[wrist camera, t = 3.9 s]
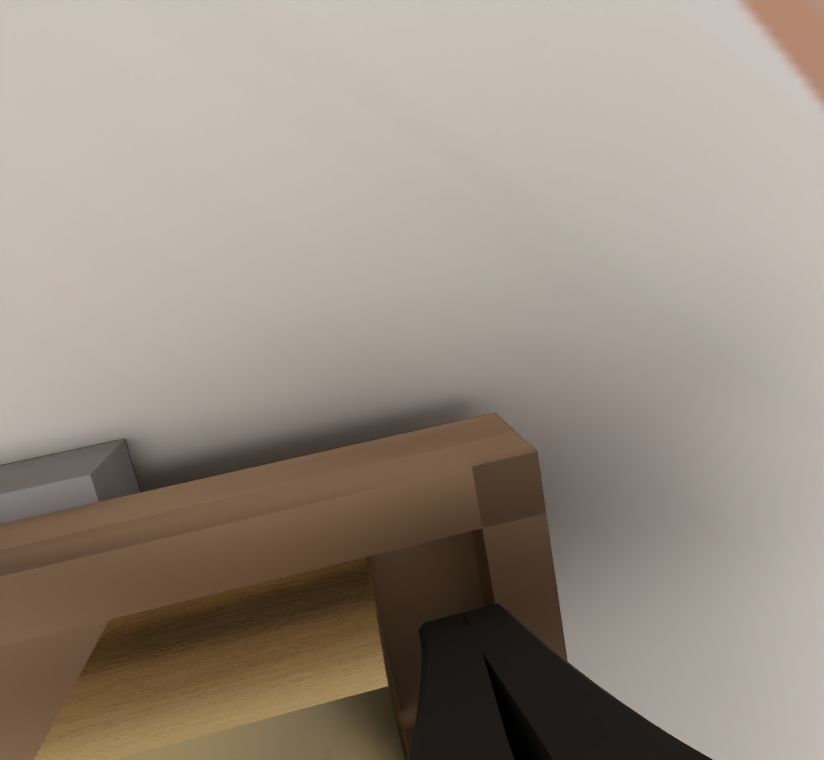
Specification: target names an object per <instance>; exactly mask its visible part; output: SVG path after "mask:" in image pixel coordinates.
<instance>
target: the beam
mask: <svg viewBox="0 0 824 760" xmlns="http://www.w3.org/2000/svg"><path fill="white" fill-rule="evenodd" d="M364 557H367V562H368V566H369V571H370V575H371V580H372V584H373V589H374V593H375V598H376V602H377V607H378V611H379V616H380V620H381V625H382V629H383V634H384V638H385V643H386V647H387V652H388V656H389V661H390V665H391V670H392V674H393V679H394V683H395V688H396V692H397V697H398V701H399V706H400V710H401V715H402V720H403V725H404V730H405V736H406V741H407V746H408V752H409V754H410V750H411V745H412V740H413V735H414V729H415V722H416V714H417V706H418V699H419V691H420V679H421V642H420V637H419V632H418V631H419V629H420V628H421V626H422V625H423V624H424V622H427V621H431V620H435V619H439V618H443V617H447V616H451V615H455V614H459V613H463V612H467V611H471V610H474V609H478V608H482V607H486V606H490V605H494V604H500V605H501V606H503V607H504V608H506V609H507V610H508V611H509V612H510V613H511V614H512V615H513V616H514V617H516V618H517V619H518V620H519V621H520V622H521V623H522V624H523V625H524V626H525V627H527V628H528V629H529V630H530V631H531V632H532V633H533V634H535V635H536V636H537V637H538V638H539V639H540V640H542V641H543V642H544V643H545V644H546V645H547V646H549V647H550V648H551V649H552V650H553V651H555V652H556V653H557V654H558V655H559V656H561V657H562V658H563V659H564V660H566V661H567V655H566V648H565V641H564V634H563V627H562V620H561V613H560V606H559V600H558V593H557V586H556V579H555V572H554V565H553V558H552V551H551V544H550V537H549V530H548V524H547V517H546V510H545V503H544V496H543V489H542V482H541V475H540V468H539V461H538V454H537V451H536V450H535V449H534V448H533V447H532V446H531V445H530V444H529V443H527V442H526V441H525V440H524V439H523V438H522V437H521V436H520V435H519V434H518V433H517V432H516V431H515V430H514V429H513V428H511V427H510V426H509V425H508V424H507V423H506V422H505V421H504V420H503V419H502V418H501V417H500V416H499V415H498V414H496V413H492V414H488V415H483V416H479V417H474V418H470V419H466V420H461V421H457V422H452V423H448V424H443V425H439V426H434V427H430V428H426V429H421V430H417V431H412V432H408V433H403V434H399V435H394V436H390V437H385V438H381V439H377V440H372V441H368V442H363V443H359V444H354V445H350V446H345V447H341V448H336V449H332V450H328V451H323V452H319V453H314V454H310V455H305V456H301V457H296V458H292V459H288V460H283V461H279V462H274V463H270V464H265V465H261V466H256V467H252V468H247V469H243V470H239V471H234V472H230V473H225V474H221V475H216V476H212V477H207V478H203V479H199V480H194V481H190V482H185V483H181V484H176V485H172V486H167V487H163V488H158V489H154V490H150V491H145V492H140V488H139V485H138V482H137V479H136V475H135V472H134V469H133V466H132V462H131V459H130V456H129V453H128V449H127V446H126V443H125V440H124V439H122V440H117V441H112V442H108V443H103V444H98V445H94V446H89V447H84V448H80V449H75V450H70V451H66V452H61V453H57V454H52V455H47V456H43V457H38V458H33V459H29V460H24V461H19V462H15V463H10V464H5V465H1V466H0V760H34V759H35V757H36V755H37V753H38V751H39V749H40V748H41V746H42V744H43V742H44V740H45V738H46V736H47V735H48V733H49V731H50V729H51V727H52V725H53V723H54V722H55V720H56V718H57V716H58V714H59V712H60V710H61V709H62V707H63V705H64V703H65V701H66V699H67V697H68V696H69V694H70V692H71V690H72V688H73V686H74V684H75V683H76V681H77V679H78V677H79V675H80V673H81V671H82V670H83V668H84V666H85V664H86V662H87V660H88V658H89V657H90V655H91V653H92V651H93V649H94V647H95V645H96V644H97V642H98V640H99V638H100V636H101V634H102V632H103V631H104V629H105V627H106V625H107V623H108V621H109V620H110V619H114V618H118V617H122V616H126V615H130V614H134V613H138V612H142V611H147V610H151V609H155V608H159V607H163V606H167V605H171V604H175V603H179V602H183V601H188V600H192V599H196V598H200V597H204V596H208V595H212V594H216V593H220V592H224V591H228V590H233V589H237V588H241V587H245V586H249V585H253V584H257V583H261V582H265V581H269V580H274V579H278V578H282V577H286V576H290V575H294V574H298V573H302V572H306V571H310V570H314V569H319V568H323V567H327V566H331V565H335V564H339V563H343V562H347V561H351V560H355V559H360V558H364Z"/></svg>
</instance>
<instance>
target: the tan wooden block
mask: <svg viewBox="0 0 824 760" xmlns="http://www.w3.org/2000/svg"><path fill="white" fill-rule="evenodd" d="M408 759H409V752H408V746H407V741H406V736H405V730H404V725H403V720H402V715H401V710H400V706H399V701H398V697H397V692H396V688H395V683H394V679H393V674H392V670H391V665H390V661H389V656H388V652H387V647H386V643H385V638H384V634H383V629H382V625H381V620H380V616H379V611H378V607H377V602H376V598H375V593H374V589H373V584H372V580H371V575H370V571H369V566H368V562H367V557H364V558H360V559H355V560H351V561H347V562H343V563H339V564H335V565H331V566H327V567H323V568H319V569H314V570H310V571H306V572H302V573H298V574H294V575H290V576H286V577H282V578H278V579H274V580H269V581H265V582H261V583H257V584H253V585H249V586H245V587H241V588H237V589H233V590H228V591H224V592H220V593H216V594H212V595H208V596H204V597H200V598H196V599H192V600H188V601H183V602H179V603H175V604H171V605H167V606H163V607H159V608H155V609H151V610H147V611H142V612H138V613H134V614H130V615H126V616H122V617H118V618H114V619H110V620H109V621H108V623H107V625H106V627H105V629H104V631H103V632H102V634H101V636H100V638H99V640H98V642H97V644H96V645H95V647H94V649H93V651H92V653H91V655H90V657H89V658H88V660H87V662H86V664H85V666H84V668H83V670H82V671H81V673H80V675H79V677H78V679H77V681H76V683H75V684H74V686H73V688H72V690H71V692H70V694H69V696H68V697H67V699H66V701H65V703H64V705H63V707H62V709H61V710H60V712H59V714H58V716H57V718H56V720H55V722H54V723H53V725H52V727H51V729H50V731H49V733H48V735H47V736H46V738H45V740H44V742H43V744H42V746H41V748H40V749H39V751H38V753H37V755H36V757H35V759H34V760H408Z"/></svg>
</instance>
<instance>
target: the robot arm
mask: <svg viewBox="0 0 824 760" xmlns="http://www.w3.org/2000/svg"><path fill="white" fill-rule="evenodd" d="M418 632H419V637H420V642H421V679H420V691H419V699H418V706H417V714H416V722H415V729H414V735H413V740H412V745H411V750H410V754H409V759H408V760H712V759H711V758H709V757H707V756H705V755H704V754H702V753H700V752H698V751H697V750H695V749H693V748H691V747H690V746H688V745H686V744H685V743H683V742H681V741H680V740H678V739H676V738H675V737H673V736H672V735H670V734H668V733H667V732H665V731H664V730H662V729H661V728H659V727H657V726H656V725H654V724H653V723H651V722H650V721H648V720H647V719H645V718H644V717H642V716H641V715H639V714H638V713H636V712H635V711H633V710H632V709H631V708H629V707H628V706H626V705H625V704H623V703H622V702H620V701H619V700H617V699H616V698H615V697H613V696H612V695H611V694H609V693H608V692H606V691H605V690H604V689H602V688H601V687H599V686H598V685H597V684H596V683H594V682H593V681H592V680H590V679H589V678H588V677H586V676H585V675H584V674H582V673H581V672H580V671H579V670H577V669H576V668H575V667H573V666H572V665H571V664H569V663H568V662H567V661H566V660H564V659H563V658H562V657H561V656H559V655H558V654H557V653H556V652H555V651H553V650H552V649H551V648H550V647H549V646H547V645H546V644H545V643H544V642H543V641H542V640H540V639H539V638H538V637H537V636H536V635H535V634H533V633H532V632H531V631H530V630H529V629H528V628H527V627H525V626H524V625H523V624H522V623H521V622H520V621H519V620H518V619H517V618H516V617H514V616H513V615H512V614H511V613H510V612H509V611H508V610H507V609H506V608H504V607H503V606H501V605H500V604H494V605H490V606H486V607H482V608H478V609H474V610H471V611H467V612H463V613H459V614H455V615H451V616H447V617H443V618H439V619H435V620H431V621H427V622H424V624H423V625H422V626H421V628H420V629H419V631H418Z"/></svg>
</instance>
